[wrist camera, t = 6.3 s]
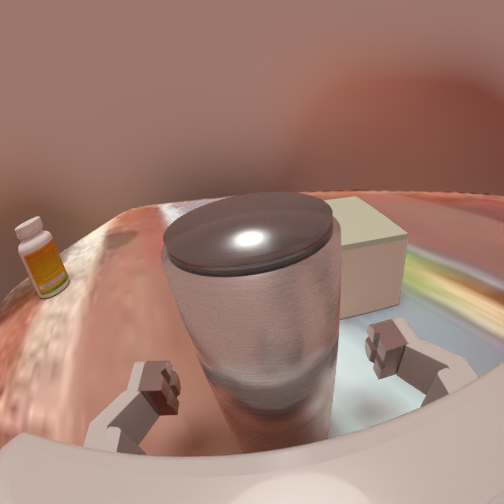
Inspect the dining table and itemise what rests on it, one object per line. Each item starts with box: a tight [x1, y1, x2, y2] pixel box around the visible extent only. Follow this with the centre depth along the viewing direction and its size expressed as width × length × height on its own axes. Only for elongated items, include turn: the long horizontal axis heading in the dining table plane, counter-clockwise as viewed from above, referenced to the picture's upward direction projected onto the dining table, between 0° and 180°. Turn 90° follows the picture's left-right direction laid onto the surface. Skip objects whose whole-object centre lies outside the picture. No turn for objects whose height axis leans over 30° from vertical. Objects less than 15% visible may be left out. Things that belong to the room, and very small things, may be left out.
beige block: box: [325, 196, 408, 319], centre depth 22 cm, size 9×9×6 cm
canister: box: [161, 192, 341, 454], centre depth 10 cm, size 5×5×12 cm
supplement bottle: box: [15, 216, 69, 298], centre depth 28 cm, size 5×5×10 cm
